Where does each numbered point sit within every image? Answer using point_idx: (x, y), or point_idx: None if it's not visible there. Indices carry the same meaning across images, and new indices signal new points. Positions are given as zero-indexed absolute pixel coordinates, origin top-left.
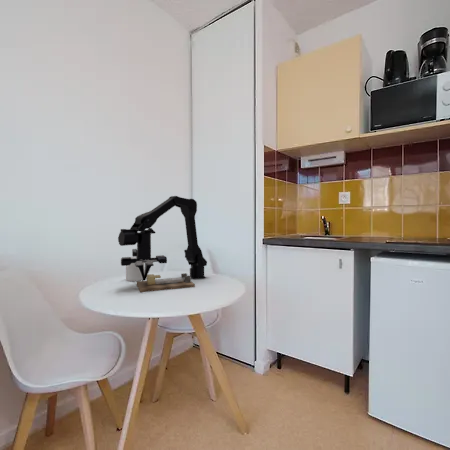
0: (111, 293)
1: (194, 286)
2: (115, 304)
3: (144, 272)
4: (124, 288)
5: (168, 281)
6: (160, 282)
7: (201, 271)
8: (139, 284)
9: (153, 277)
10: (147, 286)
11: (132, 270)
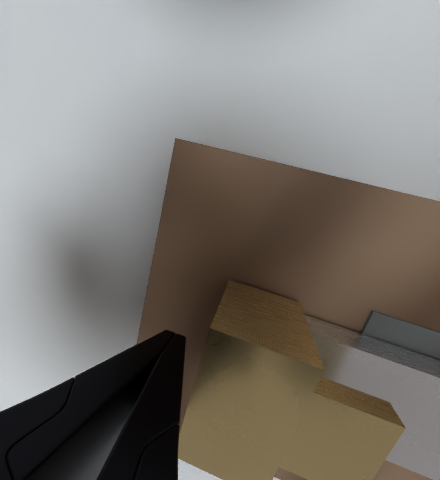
0: (2, 297)
1: None
2: None
3: (134, 407)
4: (76, 229)
5: (411, 458)
6: None
7: None
8: (161, 277)
9: (241, 471)
10: (192, 379)
11: None
